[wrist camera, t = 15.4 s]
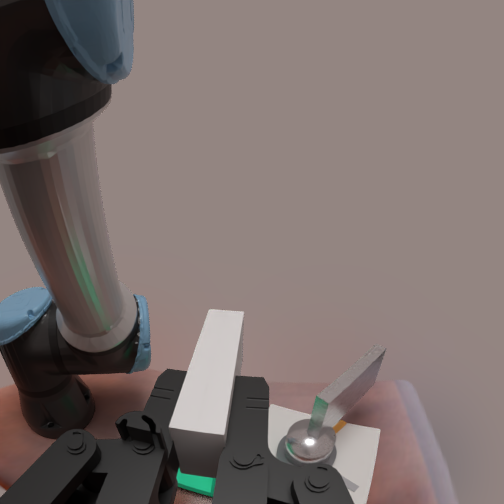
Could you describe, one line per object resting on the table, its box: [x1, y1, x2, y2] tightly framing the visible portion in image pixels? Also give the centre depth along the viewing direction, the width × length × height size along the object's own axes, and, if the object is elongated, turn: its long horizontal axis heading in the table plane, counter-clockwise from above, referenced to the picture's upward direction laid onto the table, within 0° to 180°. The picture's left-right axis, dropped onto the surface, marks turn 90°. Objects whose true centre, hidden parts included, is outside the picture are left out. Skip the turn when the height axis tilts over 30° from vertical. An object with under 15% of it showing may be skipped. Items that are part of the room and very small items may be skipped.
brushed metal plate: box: [284, 344, 386, 467], centre depth 40 cm, size 20×7×12 cm, turn 132°
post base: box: [268, 404, 380, 504], centre depth 39 cm, size 20×16×3 cm
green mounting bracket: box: [176, 468, 216, 497], centre depth 36 cm, size 12×8×10 cm, turn 167°
